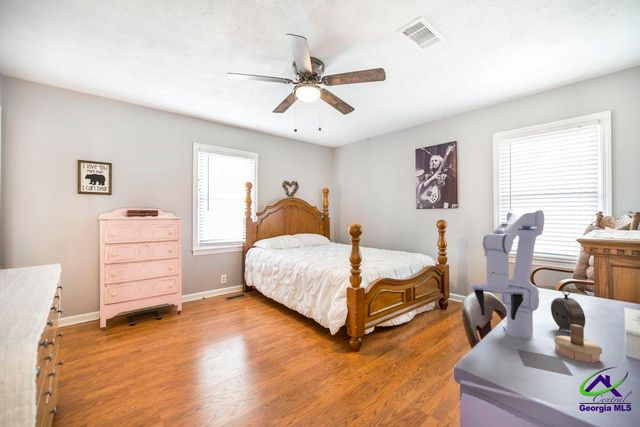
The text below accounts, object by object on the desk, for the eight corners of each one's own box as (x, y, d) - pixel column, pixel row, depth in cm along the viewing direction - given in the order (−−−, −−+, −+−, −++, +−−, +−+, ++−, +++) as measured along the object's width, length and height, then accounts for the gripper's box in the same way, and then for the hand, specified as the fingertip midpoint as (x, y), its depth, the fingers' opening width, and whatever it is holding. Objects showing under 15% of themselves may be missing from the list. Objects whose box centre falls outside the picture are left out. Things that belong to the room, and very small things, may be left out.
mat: (517, 351, 81) (517, 349, 81) (560, 359, 76) (560, 357, 76) (524, 367, 72) (524, 365, 72) (573, 378, 68) (573, 375, 68)
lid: (551, 335, 85) (551, 317, 85) (596, 344, 80) (596, 324, 80) (557, 348, 77) (557, 327, 77) (607, 358, 71) (606, 336, 71)
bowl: (552, 346, 85) (552, 336, 85) (590, 352, 80) (590, 342, 80) (562, 359, 77) (562, 348, 77) (604, 367, 73) (604, 355, 73)
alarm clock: (587, 339, 89) (586, 290, 89) (568, 338, 90) (567, 289, 90) (564, 326, 100) (563, 282, 100) (547, 325, 101) (547, 282, 101)
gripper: (470, 272, 83) (471, 316, 82) (529, 277, 76) (530, 325, 76) (470, 268, 89) (470, 309, 89) (524, 272, 82) (524, 317, 82)
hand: (497, 316), depth 83 cm, fingers open, 7 cm apart
